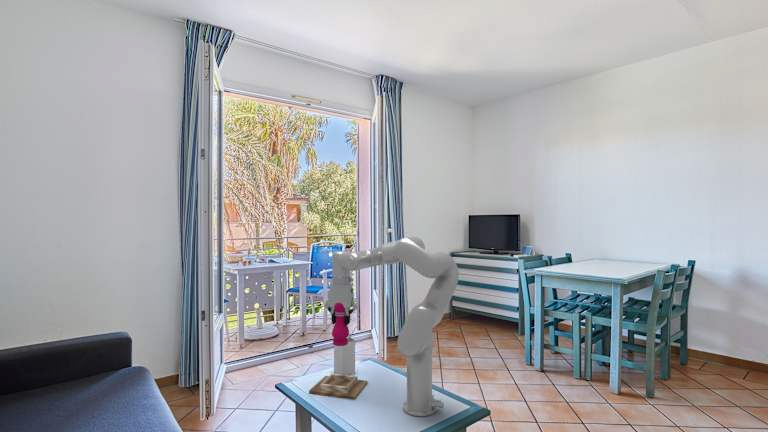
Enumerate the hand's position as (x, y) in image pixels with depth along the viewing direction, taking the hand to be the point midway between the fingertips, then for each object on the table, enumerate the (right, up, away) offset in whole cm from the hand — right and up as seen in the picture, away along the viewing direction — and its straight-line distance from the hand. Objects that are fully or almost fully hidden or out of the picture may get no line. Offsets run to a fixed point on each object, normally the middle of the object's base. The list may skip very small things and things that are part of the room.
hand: (340, 323), depth 164 cm
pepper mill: (0, -9, 0) cm, 9 cm away
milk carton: (0, -28, +18) cm, 33 cm away
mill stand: (-1, -28, +1) cm, 28 cm away
